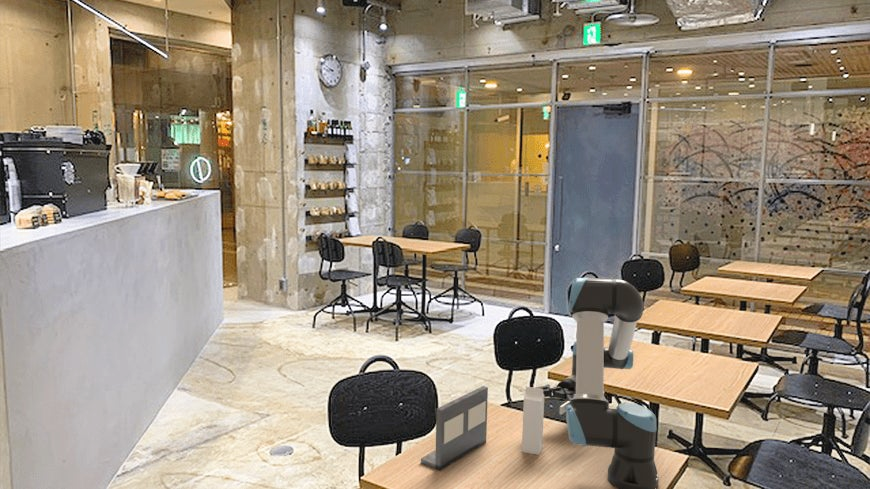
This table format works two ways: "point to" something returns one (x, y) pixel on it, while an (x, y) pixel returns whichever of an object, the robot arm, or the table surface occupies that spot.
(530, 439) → the milk
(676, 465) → the table surface
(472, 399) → the label panel
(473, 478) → the table surface
